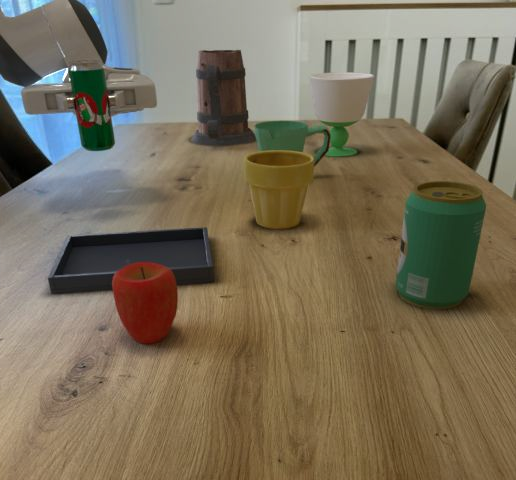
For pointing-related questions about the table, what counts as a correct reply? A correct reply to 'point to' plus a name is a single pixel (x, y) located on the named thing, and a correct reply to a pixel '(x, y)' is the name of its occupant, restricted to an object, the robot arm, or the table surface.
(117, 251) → the tray
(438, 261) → the beverage can
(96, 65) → the soda can
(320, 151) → the mug
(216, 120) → the tankard
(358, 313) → the table surface
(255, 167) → the flower pot
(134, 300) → the apple
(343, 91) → the cup
